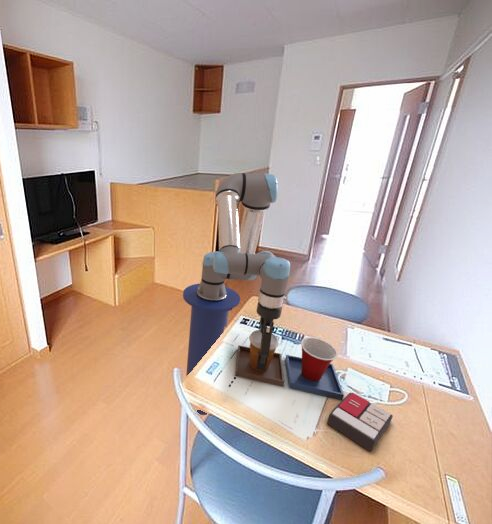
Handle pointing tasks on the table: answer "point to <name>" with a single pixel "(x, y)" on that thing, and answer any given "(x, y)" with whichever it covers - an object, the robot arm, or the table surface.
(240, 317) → the table surface
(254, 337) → the disposable coffee cup
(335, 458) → the table surface
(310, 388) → the plastic tray
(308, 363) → the plastic cup
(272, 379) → the paper tray
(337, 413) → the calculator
